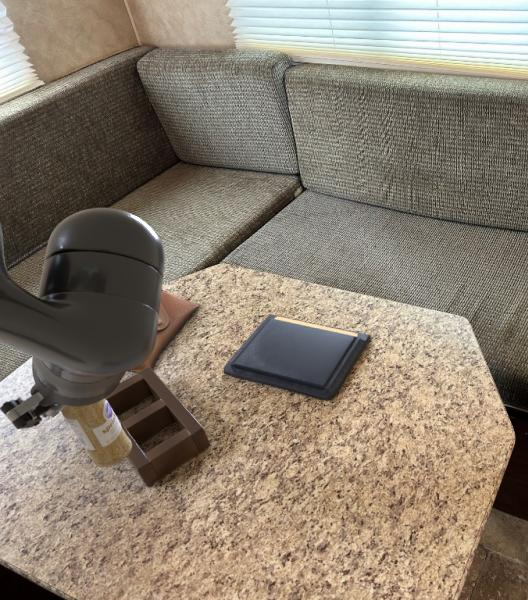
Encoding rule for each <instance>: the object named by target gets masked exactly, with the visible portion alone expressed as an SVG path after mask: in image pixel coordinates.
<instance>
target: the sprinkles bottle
mask: <svg viewBox="0 0 528 600" xmlns="http://www.w3.org/2000/svg"><path fill="white" fill-rule="evenodd" d="M60 412H61V415H62V416H63V418H64V419H65V421H66V422H67V425H68V426H69V427H70V429H71V430H72V432H73V433H74V435H75V436H76V438H77V440H78V441H79V442H80V444H81V445H82V447H83V448H84V449H85V450H86V452H87V453H88V455H89V456H90V458H91V461H92V463H93V464H94V466H96V467H98V468H112V467H113V466H116V465H118V464H120V463H121V462H123V461H124V460H126V459H127V456H128V454H129V453H130V451H131V448H132V443H131V440H130V439H129V438H128V437H127V435H126V434H125V432H124V430H123V429H122V427H121V424H120V422H119V420H120V419H119V420H118V418H119V417H118V416H117V417H118V418H117V417H116V415H115V413H114V411H113V410H112V408H111V406H110V405H109V403H108V401H107V400H106V399H105V398H104V399H103V400H101V401H99V402H97V403H94V404H91V405H86V406H68V407H66V408H65V409H63V410H61V411H60Z"/></svg>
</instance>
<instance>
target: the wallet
mask: <svg viewBox="0 0 528 600" xmlns="http://www.w3.org/2000/svg"><path fill="white" fill-rule="evenodd" d="M371 339H372V336H371V334H367V333H363V332H359V331H354V330H348V329H345V328H344V329H343V328H338V327H333V326H328V325H324V324H319V323H315V322H309V321H305V320H300V319H295V318H290V317H286V316H281V315H276V314H271V313H269V314H268V315H267V316H266V318H265V319H264V320H263V321H262V322H261V323H260V324H259V325H258V326H257V327H256V328H255V330H254V331H253V332H252V333H251V334H250V335H249V337H248V338H247V339H246V340H245V341H244V342H243V344H242V345H241V346H240V347H239V348H238V350H237V351H236V352H235V353H234V354H233V355H232V356H231V358H229V360H228V361H227V362H226V364H225V365H224V367H223V372H222V373H223V375H226V376H228V377H232V378H236V379H240V380H244V381H249V382H252V383H256V384H260V385H265V386H269V387H273V388H276V389H281V390H285V391H288V392H292V393H295V394H299V395H302V396H306V397H309V398H313V399H317V400H321V401H327V402H328V401H330V400H332V399H333V398H335V397H336V396H337V394H338V393H339V391H340V390H341V389H342V387H343V386H344V385H343V384H344V383H345V382H346V380H347V378H348V376H349V375H350V373H351V371H352V370H353V367H354V366H355V365H356V363H357V361H358V360H359V358H360V357H361V355H362V354H363V352H364V350H365V349H366V347H367V345H368V344H369V342H370V340H371Z"/></svg>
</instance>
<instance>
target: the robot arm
mask: <svg viewBox="0 0 528 600" xmlns="http://www.w3.org/2000/svg"><path fill="white" fill-rule="evenodd" d="M165 253H166V252H165V248H164V245H163V242H162V240H161V237H160V236H159V235H158V234H157V232H156V231H155V230H154V229H153V227H152V226H151V225H150V224H148V222H146V221H145V220H144V219H142V218H141V217H139V216H138V215H135V214H133V213H131V212H129V211H125V210H123V209H117V208H113V207H93V208H87V209H83V210H80V211H78V212H75V213H72V214H71V215H69V216H67V217H66V218H64V219H63V220H61V221H60V223H58V224H57V225H56V226H55V228H54V229H53V230H52V231H51V234H50V235H49V238H48V241H47V245H46V250H45V255H44V260H43V261H44V263H43V266H42V270H41V271H42V272H41V276H40V282H39V287H38V291H37V296H36V295H35V294H33V293H32V292H29V290H27V289H25V288H24V287H22V286H21V285H20V284H19V283H18V282H16V281H15V280H14V279H13V277H12V276H11V275H10V273H9V271H8V268H7V267H8V266H7V264H6V259H5V250H4V232H3V225H2V223H1V221H0V344H3V345H4V346H7V347H9V348H13V349H15V350H17V351H20V352H22V353H25V354H27V355H30V356H32V357H31V359H32V360H31V361H32V362H31V370H32V378H33V382H34V384H33V385H32V386H31V388H30V391H29V394H30V396H29V397H27V398H26V399H25V400H24V399H23V398H22V397H21V396H18V397H17V398H15V399H11V400H7V401H5V402H3V403H2V405H1V406H0V411H1V412H2V413H3V414H4V416H5V417H6V418H7V419H8V420H9V422H10V423H12V425H13V426H14V427H15V428H16V429H17V430H23V429H29V428H30V429H31V428H33V427H37V426H39V425H40V424H41V422H42V421H43V418H44V419H45V418H47V417H52V418H55V417H56V416H57V415H59V414H60V412H61V410H63V409H65V408H66V407H68V406H86V405H91V404H94V403H97V402H99V401H101V400H103V399H104V398H106V397H107V396H109V395H110V394H111V393H112V392H113V391H114V390H115V389H116V388H117V386H118V385H119V383H121V382H122V380H123V379H124V377H125V375H126V373H128V372H127V371H130V370H132V369H134V368H136V367H138V366H140V365H141V364H143V363H144V362H145V361H146V360H147V359H148V358H149V357H150V355H151V354H152V352H153V349H154V346H155V343H156V337H157V329H158V320H159V309H160V301H161V293H162V290H163V283H164V276H165V275H164V274H165V265H166V255H165ZM41 416H42V417H43V418H42V417H41Z"/></svg>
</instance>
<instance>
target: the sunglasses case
mask: <svg viewBox="0 0 528 600" xmlns="http://www.w3.org/2000/svg"><path fill="white" fill-rule="evenodd" d="M200 307H201V304H200V303H193V302H191V301H189V300H186V299H184V298H182V297H179V296H177V295H175V294H172V293H170V292H168V291H165V290H164V289H162V293H161V301H160V309H159V320H158V329H157V337H156V343H155V346H154V349H153V352H152V354H151V355H150V357H149V358H148V359H147V360H146V361H145V362H144V363H143V364H141V365H140V366H138V367H136V368H134V369H132V370H130V371H127V372H126V373H139V372H141V371H142V370H144V369H146V368H148V367H151V369H152V370H153V368H154V365H155V364H156V362H157V361H158V360H159V358H160V356H161V355H162V353H164V351H165V350H166V348H167V347H169V344H170V343H171V342H172V341H173V340H174V338H175V337H176V336H177V335H178V334H179V332H180V331H181V330H182V329H183V327H185V326H186V324H187V323H188V321H189V320H190V319H191V318H192V316H194V314H195V313H196V311H198V310H199V308H200Z"/></svg>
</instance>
